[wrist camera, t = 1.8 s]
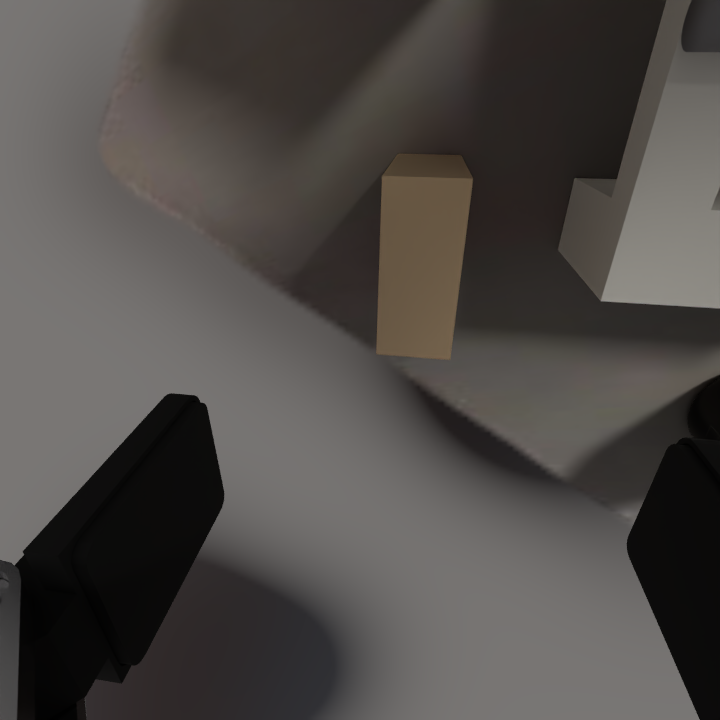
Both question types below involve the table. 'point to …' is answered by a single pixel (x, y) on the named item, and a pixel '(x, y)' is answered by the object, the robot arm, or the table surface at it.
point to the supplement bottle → (706, 413)
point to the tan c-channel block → (421, 253)
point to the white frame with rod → (660, 179)
